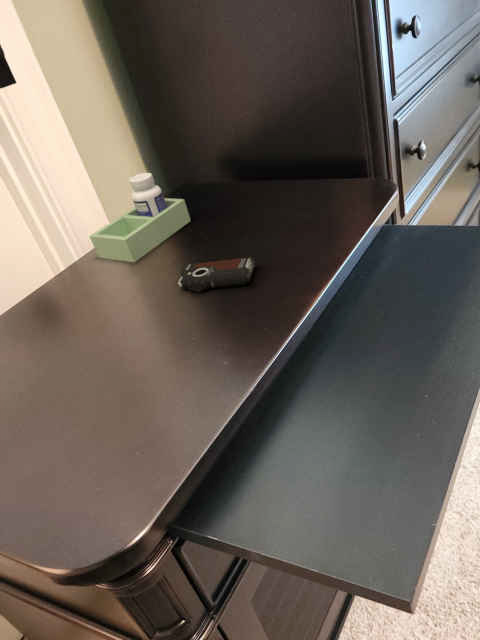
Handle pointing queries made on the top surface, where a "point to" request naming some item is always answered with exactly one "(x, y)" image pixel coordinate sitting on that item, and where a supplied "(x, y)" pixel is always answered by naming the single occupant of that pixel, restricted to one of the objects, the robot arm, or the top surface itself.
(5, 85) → the robot arm
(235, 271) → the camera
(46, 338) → the top surface
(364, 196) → the top surface
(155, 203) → the pill bottle
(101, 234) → the divided box
